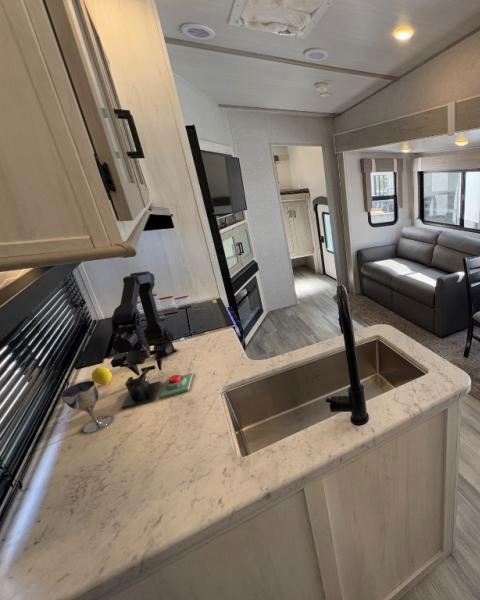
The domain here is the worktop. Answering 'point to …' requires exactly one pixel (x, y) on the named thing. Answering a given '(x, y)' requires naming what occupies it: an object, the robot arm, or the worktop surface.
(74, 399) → the wine glass
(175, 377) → the button
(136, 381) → the lever
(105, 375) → the lemon
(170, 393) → the control block
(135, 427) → the worktop surface
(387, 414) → the worktop surface
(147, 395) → the bracket
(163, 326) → the robot arm
